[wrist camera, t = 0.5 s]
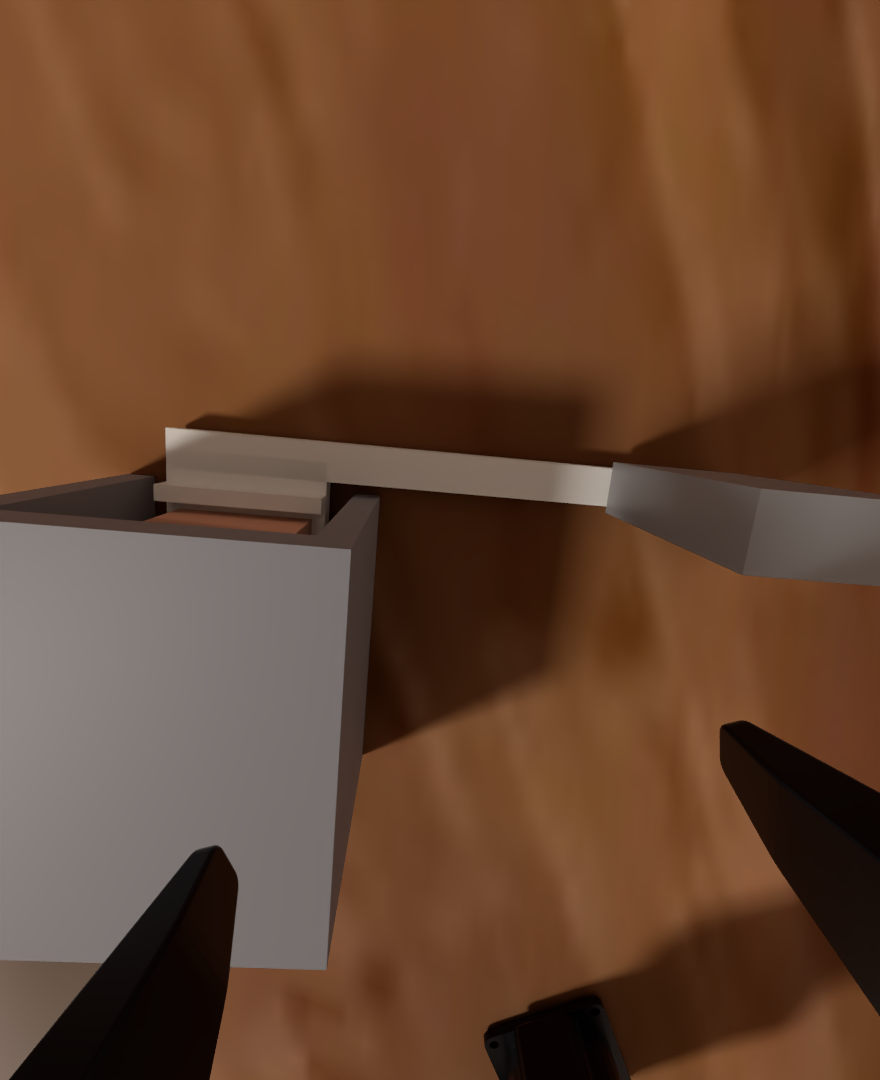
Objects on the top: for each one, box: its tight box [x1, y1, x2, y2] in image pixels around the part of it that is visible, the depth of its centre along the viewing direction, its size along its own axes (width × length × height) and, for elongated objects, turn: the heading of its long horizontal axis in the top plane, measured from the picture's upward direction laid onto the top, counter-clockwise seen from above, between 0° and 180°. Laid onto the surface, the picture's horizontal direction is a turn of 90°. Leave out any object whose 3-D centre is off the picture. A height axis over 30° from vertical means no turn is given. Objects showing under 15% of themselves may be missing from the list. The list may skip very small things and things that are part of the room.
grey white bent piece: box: [153, 428, 880, 586], centre depth 17 cm, size 9×22×10 cm, turn 85°
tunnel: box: [0, 474, 380, 970], centre depth 18 cm, size 12×10×10 cm
